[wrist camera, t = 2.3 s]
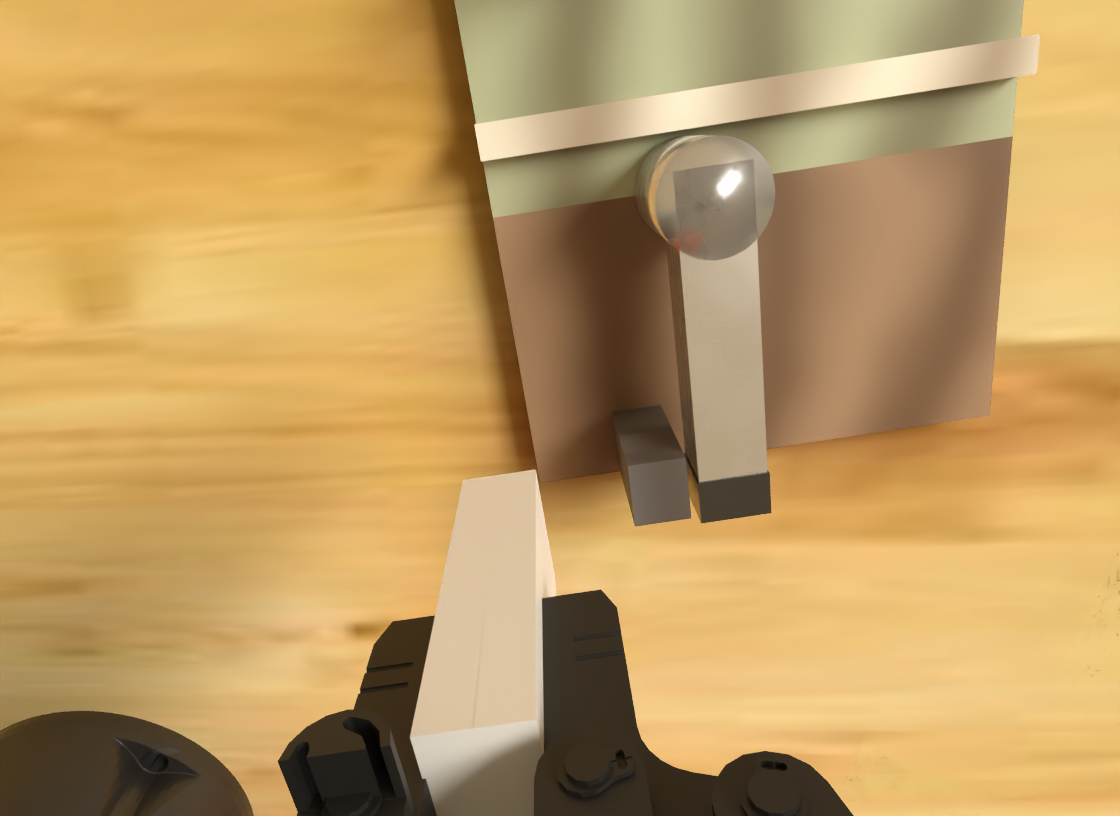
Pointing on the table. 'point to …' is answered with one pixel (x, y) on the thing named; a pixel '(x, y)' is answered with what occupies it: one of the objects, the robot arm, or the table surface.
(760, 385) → the lock bar
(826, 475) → the table surface
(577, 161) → the lever base plate
